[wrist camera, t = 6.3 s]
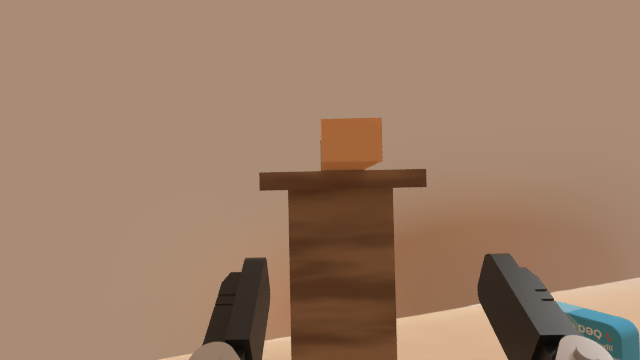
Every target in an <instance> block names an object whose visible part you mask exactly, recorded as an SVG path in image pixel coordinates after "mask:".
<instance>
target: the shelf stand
mask: <svg viewBox="0 0 640 360" xmlns="http://www.w3.org/2000/svg"><path fill="white" fill-rule="evenodd" d="M259 176H260V190H288V200H289V201H288V202H289V251H290V253H289V254H290V302H291V303H290V304H291V355H292V360H397V337H396V300H395V260H394V221H393V188H397V187H398V188H399V187H426V169H411V170H409V169H406V170H366V171H365V170H360V171H317V172H316V171H315V172H270V173H259Z"/></svg>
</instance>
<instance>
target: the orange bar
mask: <svg viewBox="0 0 640 360" xmlns="http://www.w3.org/2000/svg"><path fill="white" fill-rule="evenodd" d="M381 124H382V123H381V118H355V119H354V118H353V119H321V171H360V170H364V169H366V168H368V167H371V166H373V165H375V164H377V163H379V162H381V161H382V125H381Z"/></svg>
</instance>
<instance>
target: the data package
mask: <svg viewBox="0 0 640 360" xmlns="http://www.w3.org/2000/svg"><path fill="white" fill-rule="evenodd" d="M557 304H558V305H559V306H560V308H561V309H562V311H563V312H564V313H565V315H566V316H567V317H568V319H569V320H570V322H571V323H572V324H573V326H574V327H575V328H576V330H577V331H578V333H579V334H580V335H581V336H583V337H586V338H589V339H591V340H593V341H595V342H596V343H598V344H599V345H601V346H602V347H603V348H605V349H606V350H607V351H608V352H609V354H610V355H611V356H612V357H613V358H616V359H620V360H640V346H639V332H638V329H637V328H636V326H635V325H634V324H633V323H632V322H631V321H629V320H627V319H624V318H621V317H617V316H613V315H609V314H605V313H601V312H597V311H593V310H589V309H586V308H582V307H578V306H574V305H570V304H566V303H562V302H557Z"/></svg>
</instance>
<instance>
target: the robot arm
mask: <svg viewBox="0 0 640 360" xmlns="http://www.w3.org/2000/svg"><path fill="white" fill-rule="evenodd" d="M478 297H479V301H480V303H481V305H482V307H483V309H484V311H485V313H486V315H487V317H488V319H489V321H490V324H491V326H492V328H493V330H494V332H495V334H496V336H497V338H498V340H499V342H500V344H501V346H502V348H503V350H504V352H505V354H506V356H507V358H508V360H620V359H616V358H613V357H612V356H611V355H610V354H609V352H608V351H607V350H606V349H605V348H603V347H602V346H601V345H599V344H598V343H596V342H595V341H593V340H591V339H589V338H586V337H583V336H581V335H580V334H579V333H578V331H577V330H576V328H575V327H574V326H573V324H572V323H571V322H570V320H569V319H568V317H567V316H566V315H565V313H564V312H563V311H562V309H561V308H560V306H559V305H558V304H557V302H556V301H554V298H553V297H552V295H551V294H550V293H549V291H547V289H546V287H545V286H544V284H543V283H542V282H541V281H540V279H539V278H538V277H537V276H536V275H534V274H533V273H532V272H531V271H529V270H528V269H527V268H519V266H518V265H517V263H516V262H515V260H514V259H513V257H512V256H511V255H510V254H507V253H506V254H487V255H485V257H484V261H483V266H482V269H481V274H480V278H479V282H478ZM269 305H270V286H269V277H268V269H267V260H266V258H246V259H245V261H244V264H243V268H242V272H231V273H230V274H229V275H228V276H227V277H226V279H225V280H224V281H223V282H222V284H221V287H220V290H219V294H218V297H217V300H216V304H215V307H214V310H213V313H212V316H211V320H210V323H209V326H208V329H207V333H206V336H205V339H204V342H203V345H202V346H201V347H200V348H198V349H197V350H196V351H195V352H194V353H193V354H192V356H191V357H190V359H189V360H262V354H263V347H264V340H265V333H266V326H267V319H268V312H269Z"/></svg>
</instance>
